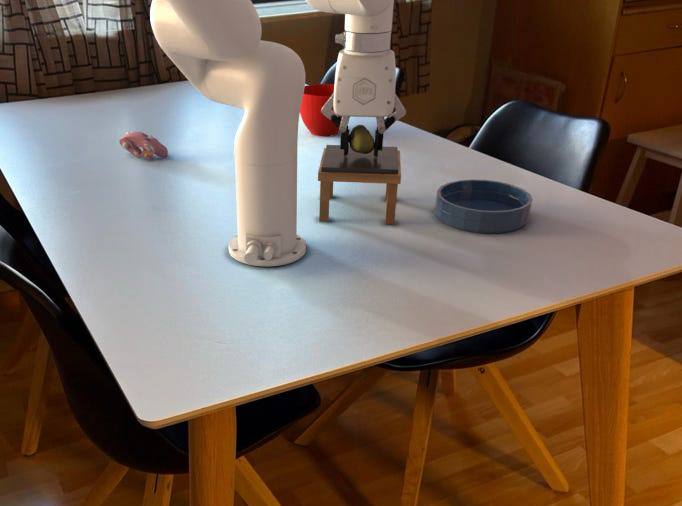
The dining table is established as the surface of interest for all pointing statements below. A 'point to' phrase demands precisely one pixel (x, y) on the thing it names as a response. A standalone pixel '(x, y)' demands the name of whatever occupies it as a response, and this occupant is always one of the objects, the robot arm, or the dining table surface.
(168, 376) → the dining table surface
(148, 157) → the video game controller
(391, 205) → the stool
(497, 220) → the bowl
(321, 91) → the ceramic cup
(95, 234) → the dining table surface
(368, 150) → the lime
